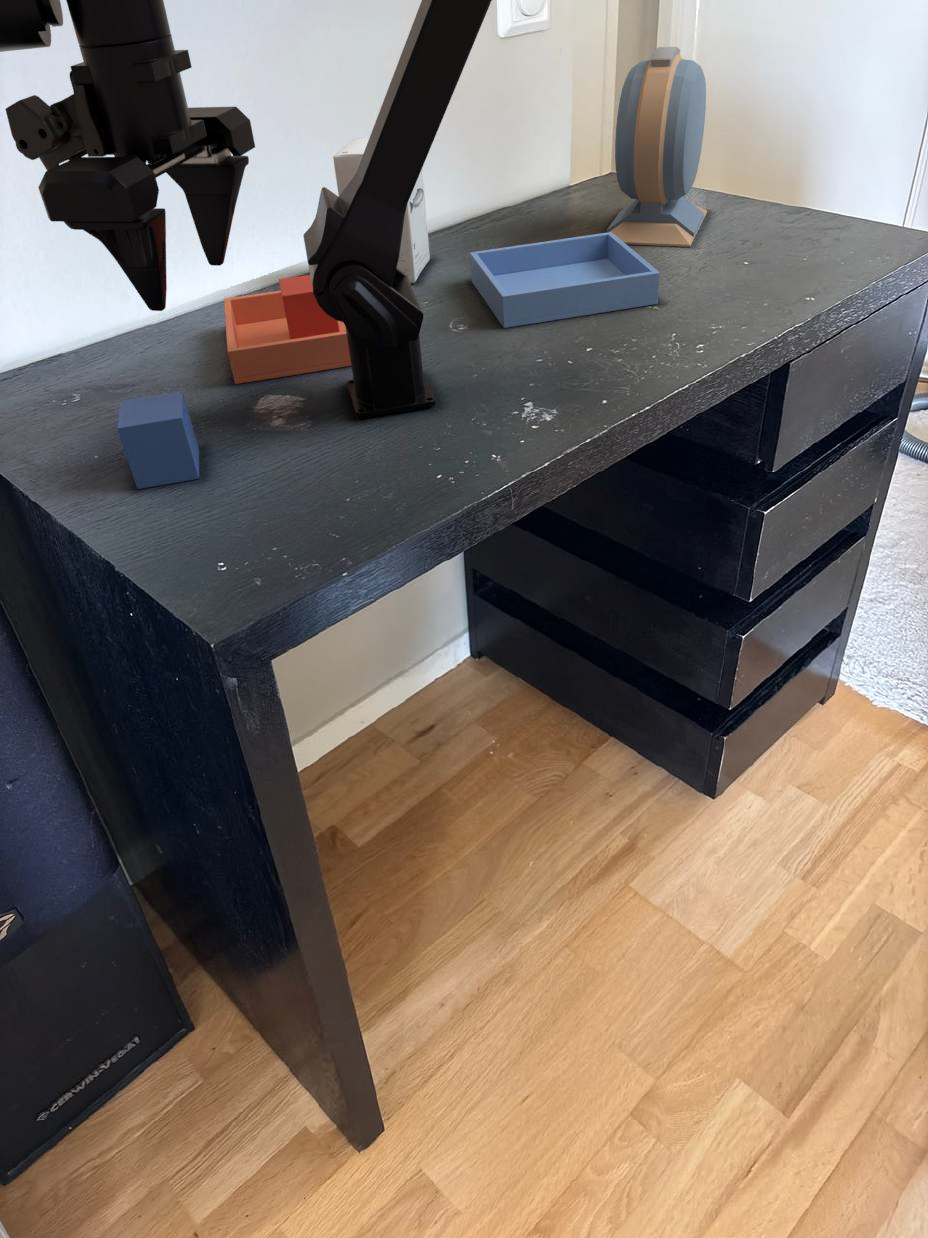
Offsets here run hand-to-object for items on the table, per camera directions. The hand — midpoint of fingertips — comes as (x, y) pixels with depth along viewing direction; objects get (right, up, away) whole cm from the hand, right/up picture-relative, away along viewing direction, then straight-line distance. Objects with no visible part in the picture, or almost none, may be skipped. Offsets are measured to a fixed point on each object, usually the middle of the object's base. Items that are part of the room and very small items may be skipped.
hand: (188, 286), depth 68 cm
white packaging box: (+12, +13, +32) cm, 37 cm away
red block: (+6, +2, +18) cm, 19 cm away
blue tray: (+30, +8, +24) cm, 39 cm away
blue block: (-2, -13, +1) cm, 14 cm away
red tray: (+6, +1, +18) cm, 19 cm away
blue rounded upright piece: (+42, +20, +38) cm, 60 cm away
